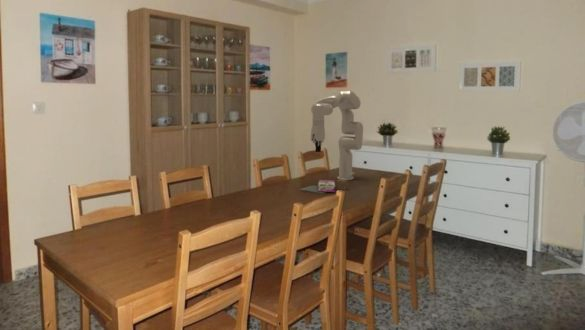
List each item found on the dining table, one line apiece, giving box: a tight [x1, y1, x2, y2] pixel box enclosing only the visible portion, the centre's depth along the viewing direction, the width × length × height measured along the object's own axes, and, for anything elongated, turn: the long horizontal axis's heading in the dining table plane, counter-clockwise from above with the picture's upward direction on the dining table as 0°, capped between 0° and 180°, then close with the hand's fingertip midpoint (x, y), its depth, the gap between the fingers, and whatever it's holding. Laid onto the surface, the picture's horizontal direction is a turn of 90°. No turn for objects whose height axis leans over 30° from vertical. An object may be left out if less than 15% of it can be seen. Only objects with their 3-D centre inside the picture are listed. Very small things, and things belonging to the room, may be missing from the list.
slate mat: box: [299, 185, 327, 195], centre depth 290 cm, size 15×18×1 cm
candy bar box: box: [317, 179, 336, 193], centre depth 288 cm, size 11×5×16 cm
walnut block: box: [335, 179, 348, 191], centre depth 293 cm, size 6×6×6 cm
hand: (318, 151), depth 287 cm, fingers closed
